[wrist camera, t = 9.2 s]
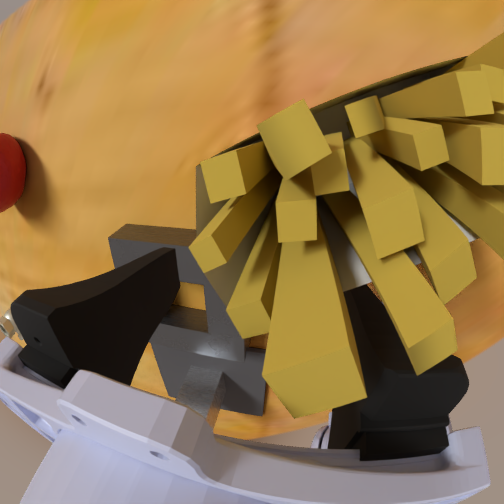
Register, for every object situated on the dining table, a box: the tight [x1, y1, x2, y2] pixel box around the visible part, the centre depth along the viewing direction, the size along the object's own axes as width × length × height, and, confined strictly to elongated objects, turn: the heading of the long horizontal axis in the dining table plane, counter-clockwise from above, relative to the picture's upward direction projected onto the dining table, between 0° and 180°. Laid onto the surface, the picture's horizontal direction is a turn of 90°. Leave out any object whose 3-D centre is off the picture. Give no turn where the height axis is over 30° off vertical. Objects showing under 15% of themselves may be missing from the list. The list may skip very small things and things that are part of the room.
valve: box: [0, 308, 23, 340], centre depth 37 cm, size 7×7×12 cm
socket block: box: [108, 224, 250, 362], centre depth 25 cm, size 12×12×3 cm
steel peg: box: [175, 366, 226, 430], centre depth 29 cm, size 4×4×8 cm
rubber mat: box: [151, 343, 266, 416], centre depth 33 cm, size 14×14×1 cm
